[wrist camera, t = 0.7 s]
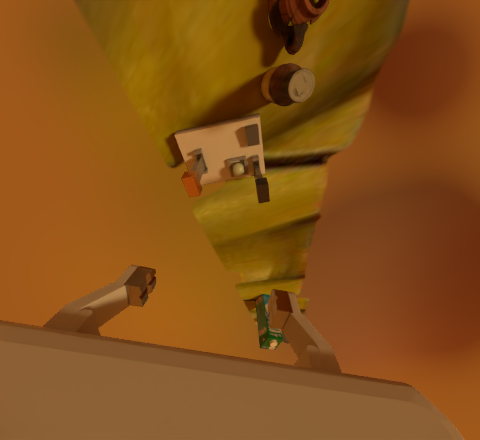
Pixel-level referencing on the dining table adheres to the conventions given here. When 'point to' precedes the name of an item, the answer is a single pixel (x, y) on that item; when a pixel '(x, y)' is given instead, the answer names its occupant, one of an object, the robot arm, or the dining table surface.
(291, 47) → the pottery mug
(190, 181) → the lever orange
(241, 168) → the push button
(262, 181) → the lever black
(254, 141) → the block
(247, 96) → the dining table surface
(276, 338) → the milk carton
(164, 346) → the robot arm
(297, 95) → the sauce bottle
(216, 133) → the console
